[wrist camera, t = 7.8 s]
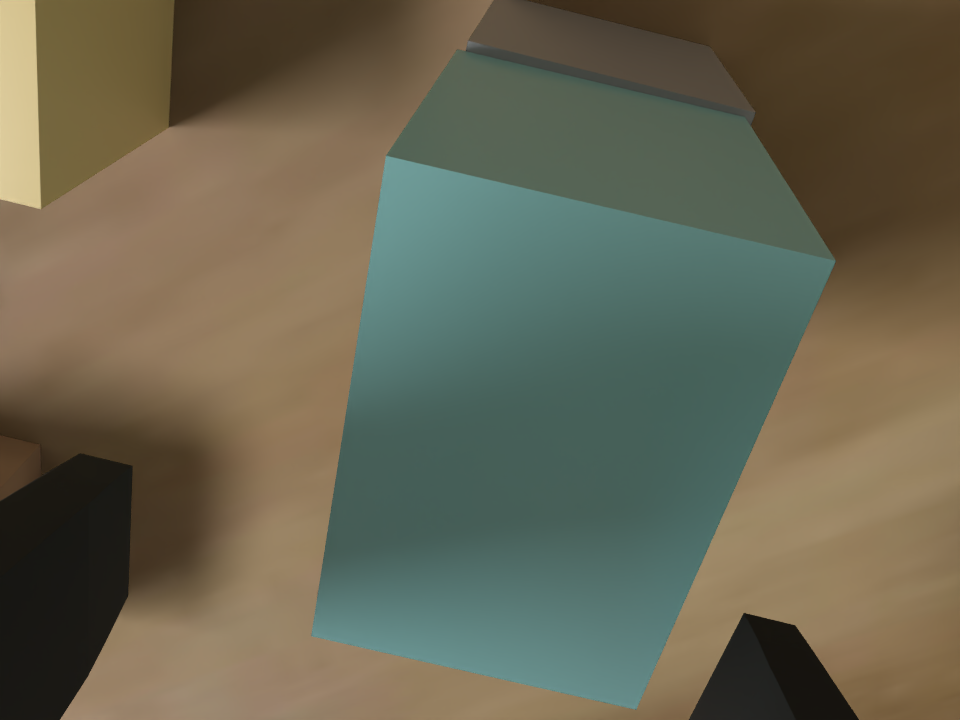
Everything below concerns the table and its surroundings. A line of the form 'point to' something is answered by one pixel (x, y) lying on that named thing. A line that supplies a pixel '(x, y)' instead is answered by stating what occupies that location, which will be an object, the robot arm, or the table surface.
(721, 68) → the gray brick
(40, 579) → the robot arm
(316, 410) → the table surface
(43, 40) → the pale yellow block
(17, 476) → the walnut brick
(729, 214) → the teal brick
